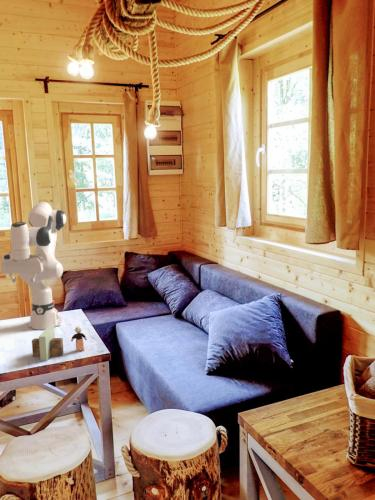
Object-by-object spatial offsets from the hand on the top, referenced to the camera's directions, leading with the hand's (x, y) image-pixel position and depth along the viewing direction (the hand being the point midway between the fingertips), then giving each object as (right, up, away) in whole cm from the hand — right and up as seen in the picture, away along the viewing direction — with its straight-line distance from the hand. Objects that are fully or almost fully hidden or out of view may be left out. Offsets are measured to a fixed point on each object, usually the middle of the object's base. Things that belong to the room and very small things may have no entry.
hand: (23, 281), depth 216 cm
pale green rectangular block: (+15, -35, -6) cm, 39 cm away
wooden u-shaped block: (+15, -35, -6) cm, 39 cm away
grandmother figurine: (+29, -35, -2) cm, 45 cm away
